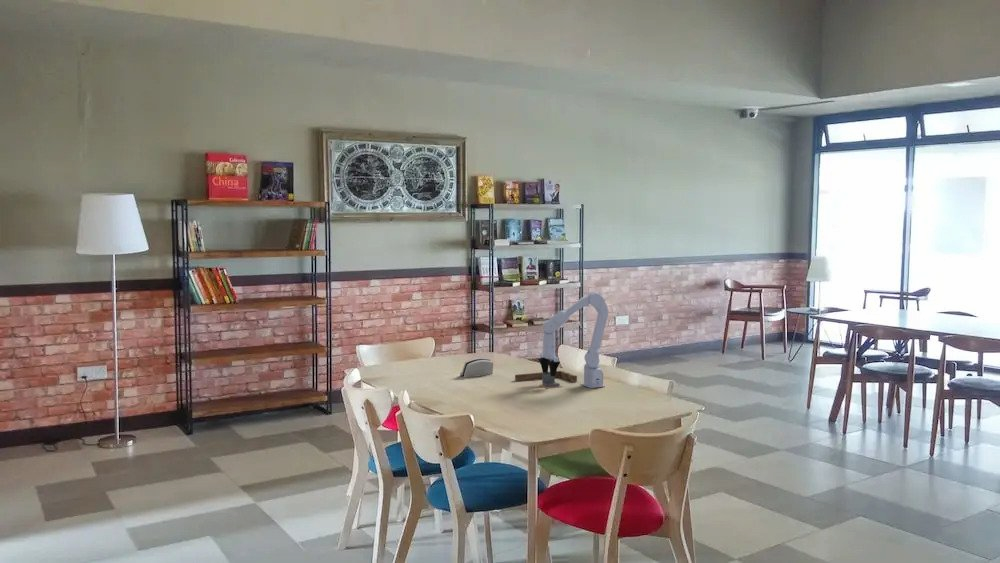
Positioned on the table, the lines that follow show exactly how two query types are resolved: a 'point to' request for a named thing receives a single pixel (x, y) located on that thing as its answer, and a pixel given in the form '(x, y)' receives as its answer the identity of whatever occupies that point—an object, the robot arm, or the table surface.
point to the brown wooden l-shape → (539, 376)
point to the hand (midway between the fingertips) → (549, 374)
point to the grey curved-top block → (477, 367)
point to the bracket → (549, 380)
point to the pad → (550, 387)
